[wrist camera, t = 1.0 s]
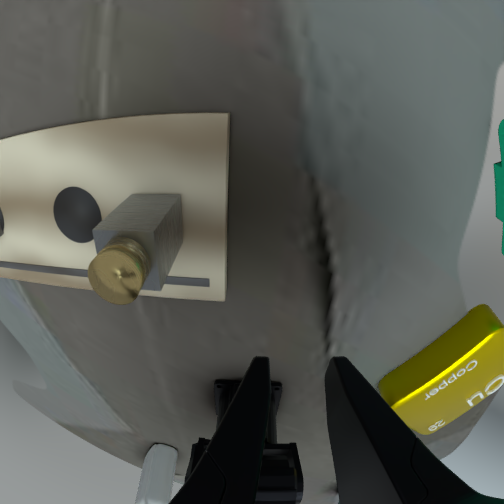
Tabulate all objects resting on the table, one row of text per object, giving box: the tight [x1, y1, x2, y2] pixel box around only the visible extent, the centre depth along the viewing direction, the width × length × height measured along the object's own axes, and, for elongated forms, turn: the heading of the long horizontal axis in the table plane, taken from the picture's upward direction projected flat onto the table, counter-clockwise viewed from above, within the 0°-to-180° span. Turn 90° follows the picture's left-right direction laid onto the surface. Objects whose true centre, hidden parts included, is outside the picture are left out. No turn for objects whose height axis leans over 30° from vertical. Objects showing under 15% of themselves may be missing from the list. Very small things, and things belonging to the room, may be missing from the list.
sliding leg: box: [88, 194, 183, 305], centre depth 14 cm, size 3×3×7 cm
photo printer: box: [135, 444, 177, 504], centre depth 32 cm, size 10×4×12 cm, turn 154°
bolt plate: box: [0, 112, 230, 301], centre depth 15 cm, size 12×26×8 cm, turn 87°
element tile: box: [378, 304, 504, 435], centre depth 25 cm, size 15×15×5 cm
